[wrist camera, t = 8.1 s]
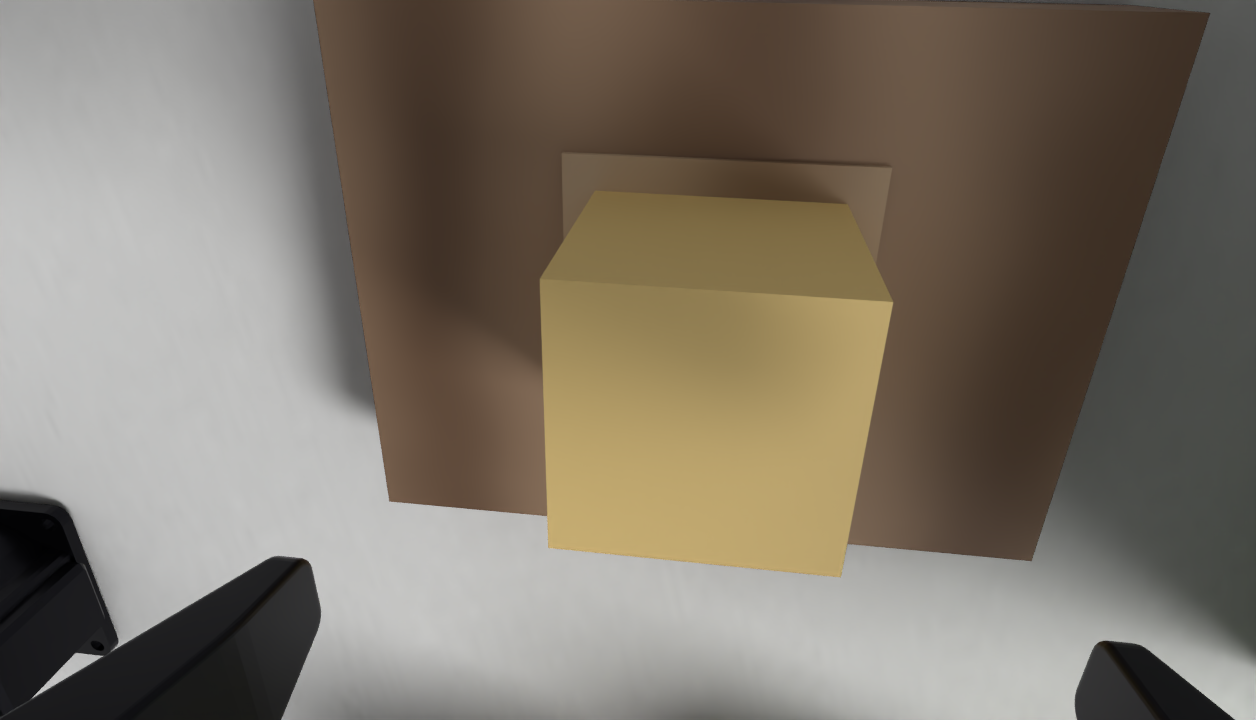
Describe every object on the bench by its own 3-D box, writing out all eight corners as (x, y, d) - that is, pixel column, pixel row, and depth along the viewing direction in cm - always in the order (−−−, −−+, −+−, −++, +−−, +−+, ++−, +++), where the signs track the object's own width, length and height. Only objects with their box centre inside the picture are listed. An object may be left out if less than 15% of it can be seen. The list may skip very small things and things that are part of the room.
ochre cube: (594, 404, 18) (548, 547, 14) (595, 190, 16) (539, 278, 11) (814, 422, 17) (841, 577, 13) (847, 204, 15) (893, 301, 11)
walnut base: (429, 439, 23) (387, 504, 20) (376, -12, 17) (308, -8, 15) (994, 486, 21) (1033, 565, 18) (1130, 5, 16) (1214, 13, 13)
